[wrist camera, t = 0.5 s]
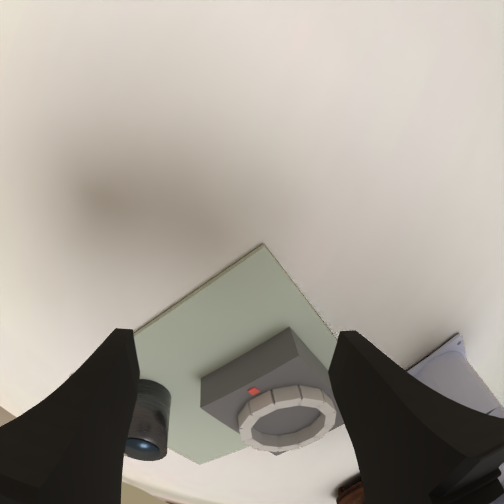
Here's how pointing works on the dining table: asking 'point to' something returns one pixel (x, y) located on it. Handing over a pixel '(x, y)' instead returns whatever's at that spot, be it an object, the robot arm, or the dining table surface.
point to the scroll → (352, 495)
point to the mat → (222, 344)
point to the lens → (149, 422)
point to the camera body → (273, 395)
